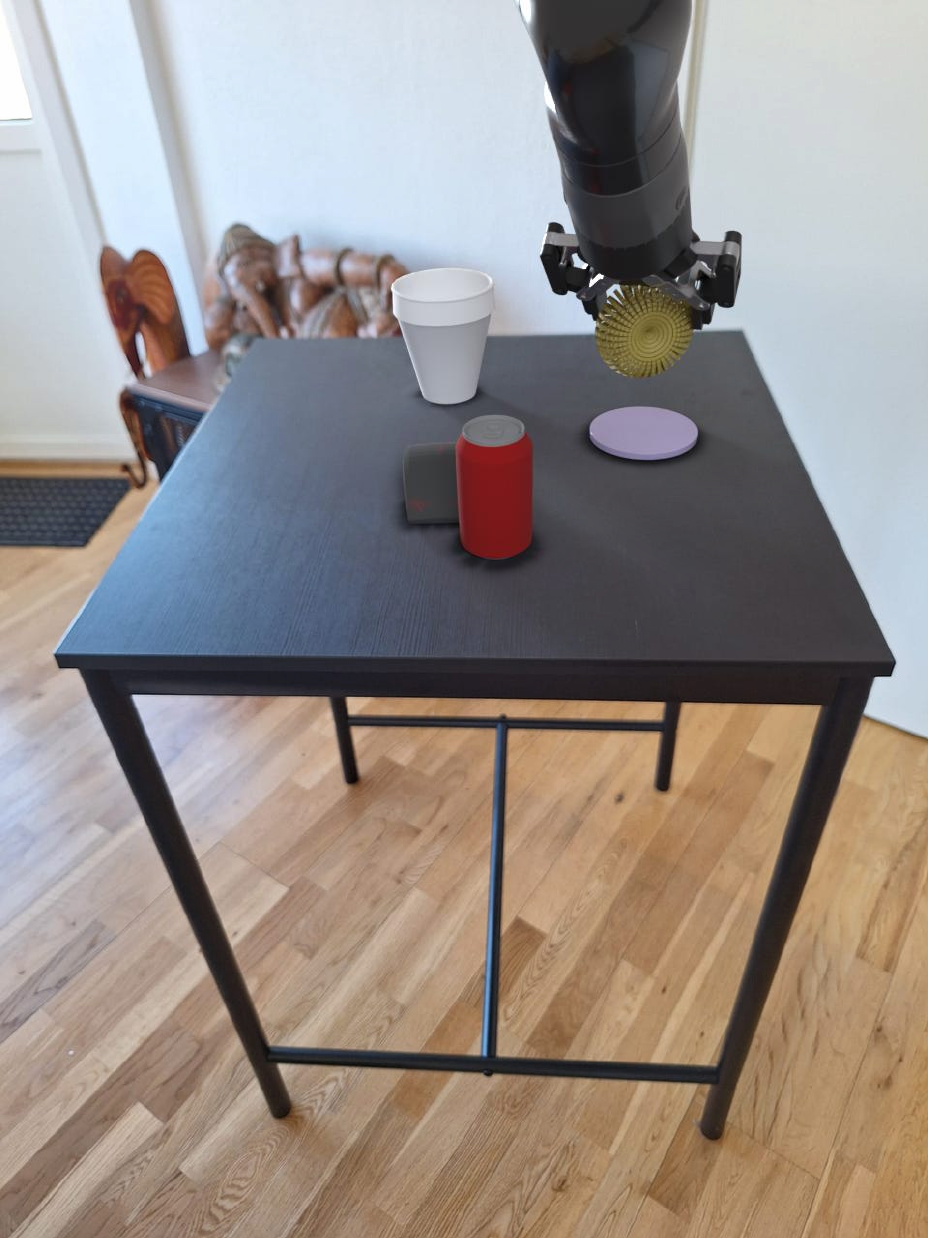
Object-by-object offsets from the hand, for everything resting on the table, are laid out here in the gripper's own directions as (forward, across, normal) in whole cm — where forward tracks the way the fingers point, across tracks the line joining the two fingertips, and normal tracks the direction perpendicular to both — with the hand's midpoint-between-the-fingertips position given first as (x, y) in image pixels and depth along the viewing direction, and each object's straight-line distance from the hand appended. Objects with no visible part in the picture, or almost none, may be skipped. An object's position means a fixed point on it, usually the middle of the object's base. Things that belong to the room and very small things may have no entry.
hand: (649, 314), depth 68 cm
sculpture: (+2, 0, +4) cm, 5 cm away
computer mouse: (+16, +20, +14) cm, 29 cm away
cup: (+32, +29, -3) cm, 43 cm away
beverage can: (+10, +11, +19) cm, 24 cm away
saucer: (+28, +3, +1) cm, 28 cm away
